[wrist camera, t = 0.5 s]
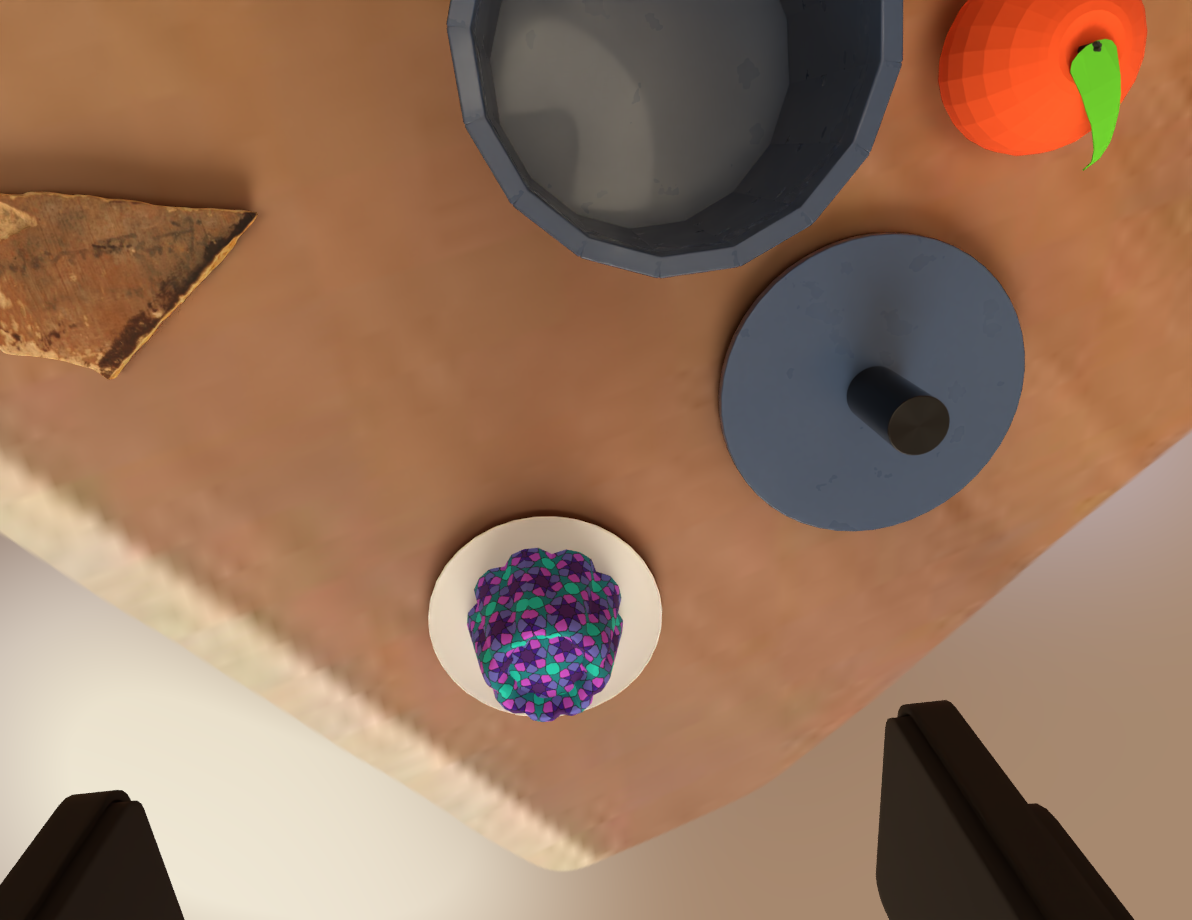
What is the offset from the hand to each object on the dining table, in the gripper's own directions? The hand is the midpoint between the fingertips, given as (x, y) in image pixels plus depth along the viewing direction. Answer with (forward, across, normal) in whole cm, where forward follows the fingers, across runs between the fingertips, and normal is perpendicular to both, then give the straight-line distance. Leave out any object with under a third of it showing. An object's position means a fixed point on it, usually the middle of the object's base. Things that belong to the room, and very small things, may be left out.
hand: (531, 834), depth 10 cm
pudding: (+29, +1, +14) cm, 32 cm away
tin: (+28, -5, -11) cm, 31 cm away
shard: (+29, +18, -6) cm, 34 cm away
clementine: (+29, -20, -9) cm, 36 cm away
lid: (+28, -15, +4) cm, 32 cm away
